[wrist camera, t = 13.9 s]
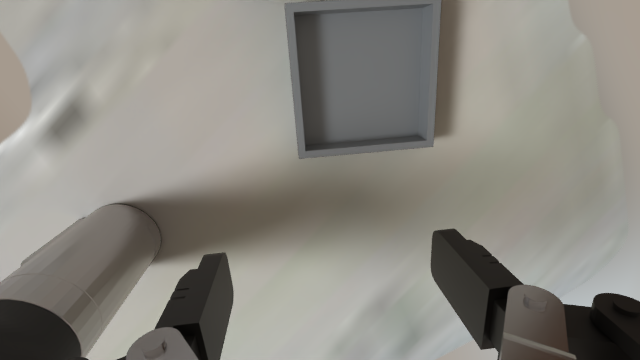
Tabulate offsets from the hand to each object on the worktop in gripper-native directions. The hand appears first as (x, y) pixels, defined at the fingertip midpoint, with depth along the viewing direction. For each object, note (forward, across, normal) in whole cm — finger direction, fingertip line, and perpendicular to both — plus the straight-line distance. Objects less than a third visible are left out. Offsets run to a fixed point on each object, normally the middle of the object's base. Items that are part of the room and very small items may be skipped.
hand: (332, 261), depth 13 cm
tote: (+28, -7, -5) cm, 29 cm away
